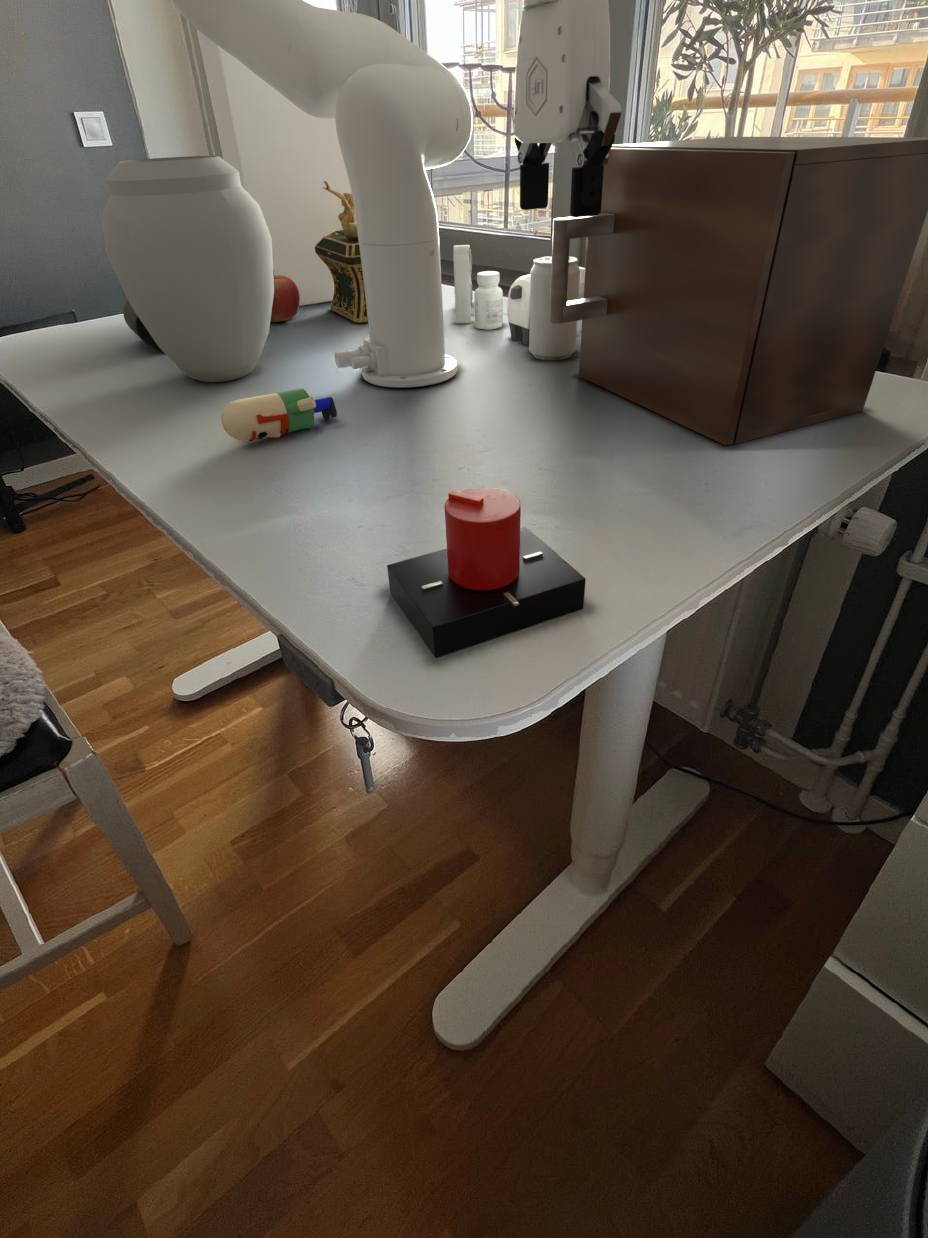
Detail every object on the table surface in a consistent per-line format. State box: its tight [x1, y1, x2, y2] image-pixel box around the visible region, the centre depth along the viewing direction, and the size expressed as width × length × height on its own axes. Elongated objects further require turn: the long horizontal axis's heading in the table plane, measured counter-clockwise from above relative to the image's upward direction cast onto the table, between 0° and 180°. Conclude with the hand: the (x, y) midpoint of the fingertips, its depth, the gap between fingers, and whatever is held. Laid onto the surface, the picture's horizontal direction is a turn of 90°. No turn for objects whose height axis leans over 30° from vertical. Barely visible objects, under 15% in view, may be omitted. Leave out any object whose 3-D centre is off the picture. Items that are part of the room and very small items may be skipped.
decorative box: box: [315, 181, 368, 324], centre depth 110 cm, size 20×10×20 cm, turn 29°
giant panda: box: [506, 261, 586, 346], centre depth 99 cm, size 15×6×10 cm, turn 121°
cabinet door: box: [550, 148, 795, 446], centre depth 67 cm, size 8×26×24 cm, turn 26°
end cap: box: [122, 299, 164, 353], centre depth 103 cm, size 10×7×7 cm
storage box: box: [195, 28, 356, 307], centre depth 118 cm, size 21×10×40 cm, turn 121°
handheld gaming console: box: [452, 244, 474, 324], centre depth 113 cm, size 11×3×15 cm
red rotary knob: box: [443, 486, 522, 591], centre depth 44 cm, size 5×5×5 cm
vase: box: [101, 155, 274, 383], centre depth 85 cm, size 20×20×24 cm
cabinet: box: [611, 136, 928, 445], centre depth 72 cm, size 18×26×24 cm
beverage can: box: [528, 255, 580, 361], centre depth 90 cm, size 6×6×12 cm
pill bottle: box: [473, 270, 504, 331], centre depth 105 cm, size 4×4×8 cm
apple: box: [270, 269, 300, 323], centre depth 113 cm, size 8×8×8 cm
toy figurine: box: [220, 388, 338, 442], centre depth 72 cm, size 8×4×12 cm
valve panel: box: [386, 526, 587, 659], centre depth 46 cm, size 11×9×3 cm
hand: (558, 211), depth 69 cm, fingers open, 9 cm apart
